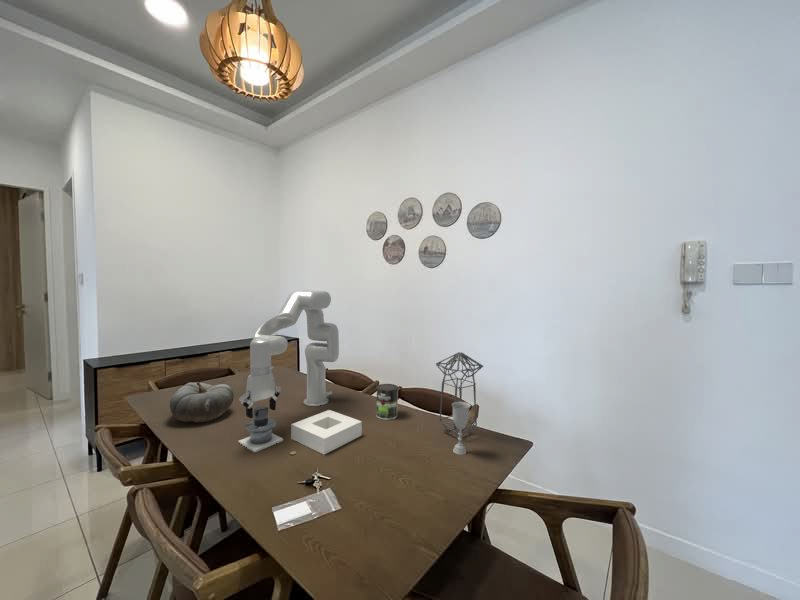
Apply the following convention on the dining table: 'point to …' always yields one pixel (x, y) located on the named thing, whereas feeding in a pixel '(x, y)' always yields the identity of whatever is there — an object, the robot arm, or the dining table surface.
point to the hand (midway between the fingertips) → (261, 413)
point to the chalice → (460, 423)
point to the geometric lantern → (459, 356)
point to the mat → (259, 447)
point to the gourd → (201, 402)
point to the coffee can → (387, 401)
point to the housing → (326, 431)
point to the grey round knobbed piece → (260, 426)
